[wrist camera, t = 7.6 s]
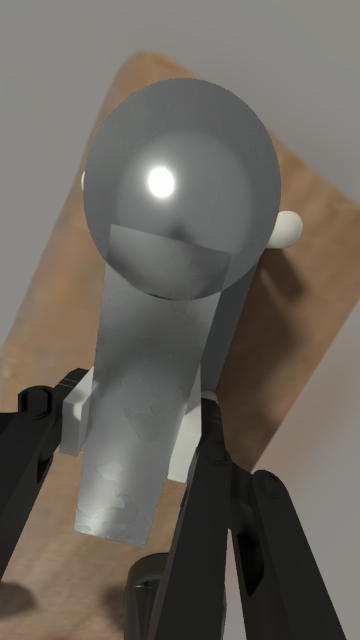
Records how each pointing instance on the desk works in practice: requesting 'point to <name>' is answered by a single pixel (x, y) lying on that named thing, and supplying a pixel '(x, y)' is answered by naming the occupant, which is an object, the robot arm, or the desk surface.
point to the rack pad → (237, 306)
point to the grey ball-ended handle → (163, 277)
